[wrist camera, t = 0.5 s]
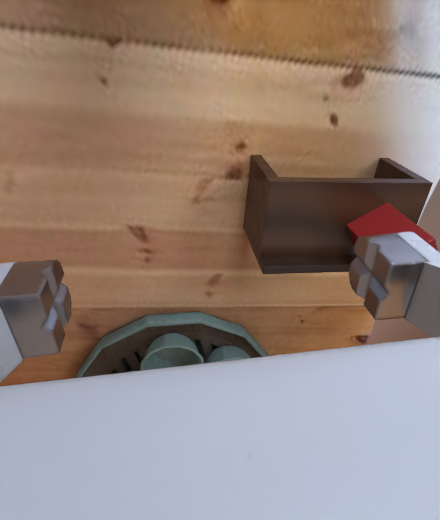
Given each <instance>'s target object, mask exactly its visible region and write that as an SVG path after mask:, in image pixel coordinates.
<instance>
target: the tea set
mask: <svg viewBox="0 0 440 520" xmlns="http://www.w3.org/2000/svg"><path fill="white" fill-rule="evenodd" d="M266 356H268V354H267V353H266V352H265V351H264V350H263V349H262V348H261V346H260V345H259V344H258V343H257V342H256V341H255V340H254V338H253V337H252V336H251V335H250V334H249V333H248V332H247V331H246V329H245V328H244V327H242V326H240V325H237V324H234V323H231V322H228V321H225V320H222V319H220V318H217V317H214V316H211V315H208V314H205V313H202V312H187V313H172V314H157V315H147V316H145V317H143V318H141V319H139V320H137V321H135V322H132V323H130V324H128V325H126V326H124V327H122V328H120V329H118V330H116V331H114V332H112V333H110V334H107V335H105V336H104V337H103V338H102V339H101V340H100V341H99V343H98V344H97V345H96V347H95V348H94V350H93V351H92V352H91V354H90V355H89V356H88V358H87V359H86V361H85V362H84V363H83V365H82V366H81V367H80V369H79V370H78V372H77V375H76V378H81V377H90V376H99V375H107V374H116V373H125V372H134V371H143V370H151V369H160V368H169V367H178V366H187V365H195V364H204V363H213V362H222V361H231V360H240V359H248V358H257V357H266Z"/></svg>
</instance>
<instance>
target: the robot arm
mask: <svg viewBox="0 0 440 520" xmlns="http://www.w3.org/2000/svg"><path fill="white" fill-rule="evenodd" d="M354 252H355V253H356V255H357V257H356V258H355V259H354V260H353V261H352V263H351V265H350V270H349V279H350V284H351V286H352V289H353V290H354V292H355V293H356V294H357V295H359V296H361V297H362V298H364V299H365V301H364V305H365V307H366V308H367V309H368V311H369V312H370V314H371V315H372V316H373V318H374V319H375V320H383V319H395V318H405V320H407V321H409V322H410V323H412V324H414V325H415V326H417V327H419V328H420V329H421V330H423V331H425V332H426V333H428V334H429V335H431V336H432V337H433V338H424V339H415V340H406V341H399V342H389V343H380V344H371V345H363V346H354V347H345V348H336V349H328V350H319V351H310V352H301V353H292V354H284V355H275V356H266V357H257V358H248V359H240V360H231V361H222V362H213V363H204V364H195V365H187V366H178V367H169V368H160V369H151V370H143V371H134V372H125V373H116V374H107V375H99V376H90V377H81V378H72V379H63V380H54V381H46V382H37V383H28V384H19V385H10V386H2V387H0V520H440V253H439V252H438V251H437V250H436V249H434V248H433V247H432V246H431V245H429V244H428V243H427V242H426V241H424V240H423V239H422V238H420V237H419V236H418V235H417V234H415V233H414V232H400V233H391V234H382V235H372V236H363V237H358V239H357V241H356V243H355V247H354ZM63 276H64V272H63V269H62V266H61V263H60V262H59V261H58V260H46V261H29V262H17V263H16V262H11V263H0V382H1V381H2V380H3V379H4V378H5V377H6V376H7V375H8V374H9V373H10V372H11V371H12V370H13V369H15V368H16V367H17V366H18V365H19V364H20V363H21V362H22V361H23V358H29V357H36V356H44V355H52V354H59V352H60V349H61V346H62V343H63V339H64V336H65V332H64V329H63V327H64V326H65V325H66V324H67V323H68V322H69V320H70V316H71V296H70V292H69V289H68V287H67V286H65V285H64V284H63V283H62V282H61V281H62V279H63Z"/></svg>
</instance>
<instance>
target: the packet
mask: <svg viewBox="0 0 440 520" xmlns="http://www.w3.org/2000/svg"><path fill="white" fill-rule="evenodd" d="M346 226H347V228H348V231H349V233H350V236H351V238H352V240H353V243H354V245H355V243H356V241H357V239H358V237H363V236H372V235H382V234H391V233H400V232H414V233H415V234H417V235H418V236H419V237H420V238H422V239H423V240H424V241H426V242H427V243H428V244H429V245H431V246H432V247H433V248H434V249H436V250H437V245H436V241H435V238H433V237H432V236H430V235H429V234H428V233H427V232H425V231H424V230H423V229H421V228H420V227H419V226H418V225H416V224H415V223H414V222H412V221H411V220H410V219H408V218H407V217H406V216H404V215H403V214H402V213H401V212H399V211H398V210H397V209H395V208H394V207H393V206H391V205H390V204H389V203H385V204H384V205H382V206H380V207H378V208H376V209H374V210H372V211H371V212H369V213H367V214H365V215H363V216H361V217H359V218H358V219H356V220H354V221H352V222H350V223H348V224H347V225H346ZM437 251H438V250H437Z"/></svg>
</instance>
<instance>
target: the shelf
mask: <svg viewBox="0 0 440 520" xmlns="http://www.w3.org/2000/svg"><path fill="white" fill-rule="evenodd" d="M431 186H432V182H430V181H428V180H426V179H424V178H423V177H421V176H419V175H417V174H416V173H414V172H412V171H410V170H409V169H407V168H405V167H403V166H402V165H400V164H398V163H396V162H394V161H393V160H391V159H389V158H380V160H379V163H378V166H377V170H376V173H375V176H374V179H372V178H286V177H278V176H277V175H276V174H275V172H274V171H273V170H272V169H271V167H270V166H269V165H268V164H267V162H266V161H265V160H264V159H263V157H262V156H261V155H251V162H250V171H249V181H248V190H247V199H246V209H245V218H244V227H243V228H244V230H245V233H246V235H247V237H248V240H249V242H250V244H251V247H252V249H253V252H254V254H255V256H256V259H257V261H258V264H259V266H260V268H261V271H262V273H263V274H283V273H317V272H349V270H350V265H351V263H352V261H353V260H354V259H355V258H356V257H357V255H356V253H355V252H354V247H355V245H354V243H353V240H352V238H351V236H350V233H349V231H348V228H347V226H346V225H347V224H348V223H350V222H352V221H354V220H356V219H358V218H359V217H361V216H363V215H365V214H367V213H369V212H371V211H372V210H374V209H376V208H378V207H380V206H382V205H384V204H385V203H389V204H390V205H391V206H393V207H394V208H395V209H397V210H398V211H399V212H401V213H402V214H403V215H404V216H406V217H407V218H408V219H410V220H411V221H412V222H414V223H415V224H416V225H417V222H418V220H419V217H420V214H421V212H422V209H423V207H424V204H425V202H426V199H427V196H428V194H429V191H430V189H431Z"/></svg>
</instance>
